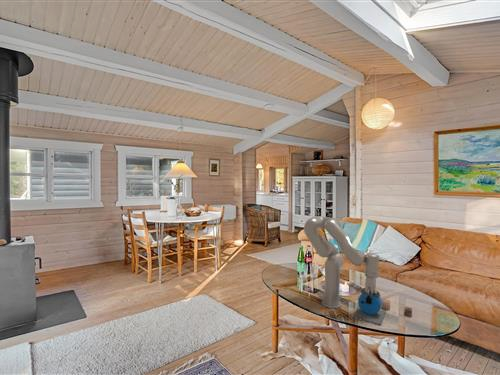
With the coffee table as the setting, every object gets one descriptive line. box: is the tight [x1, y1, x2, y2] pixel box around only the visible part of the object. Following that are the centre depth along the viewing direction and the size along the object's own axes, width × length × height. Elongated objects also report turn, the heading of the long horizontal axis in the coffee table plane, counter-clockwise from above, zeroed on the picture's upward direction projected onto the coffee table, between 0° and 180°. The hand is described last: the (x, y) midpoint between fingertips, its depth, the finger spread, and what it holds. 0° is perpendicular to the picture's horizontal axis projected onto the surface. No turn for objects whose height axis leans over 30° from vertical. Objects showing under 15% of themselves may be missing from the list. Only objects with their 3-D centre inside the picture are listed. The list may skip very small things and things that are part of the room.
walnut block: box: [403, 306, 413, 318], centre depth 185 cm, size 4×4×4 cm
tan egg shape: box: [381, 298, 391, 311], centre depth 193 cm, size 5×5×5 cm
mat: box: [352, 305, 387, 326], centre depth 184 cm, size 16×20×1 cm
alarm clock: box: [357, 287, 382, 315], centre depth 184 cm, size 13×6×15 cm, turn 56°
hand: (370, 300), depth 184 cm, fingers open, 9 cm apart
